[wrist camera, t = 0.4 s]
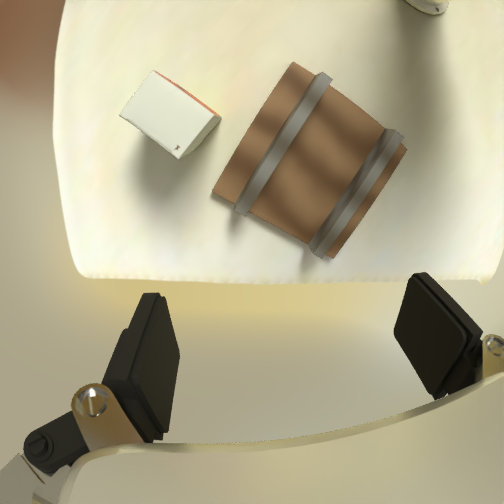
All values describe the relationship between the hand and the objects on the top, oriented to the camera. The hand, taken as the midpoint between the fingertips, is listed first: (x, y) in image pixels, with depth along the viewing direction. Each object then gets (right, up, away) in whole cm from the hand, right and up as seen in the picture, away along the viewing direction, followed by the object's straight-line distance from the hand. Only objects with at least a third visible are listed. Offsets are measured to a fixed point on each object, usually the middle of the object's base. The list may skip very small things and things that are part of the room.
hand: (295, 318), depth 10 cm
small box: (-10, +20, +22) cm, 31 cm away
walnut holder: (+7, +14, +26) cm, 30 cm away
